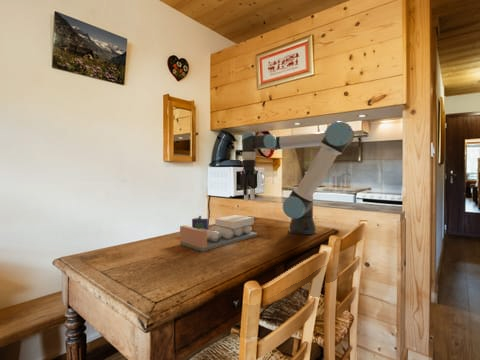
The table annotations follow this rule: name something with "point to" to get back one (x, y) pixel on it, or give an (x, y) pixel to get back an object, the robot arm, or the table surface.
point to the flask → (200, 223)
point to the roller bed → (199, 241)
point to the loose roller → (213, 235)
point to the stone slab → (234, 221)
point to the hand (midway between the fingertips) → (249, 200)
